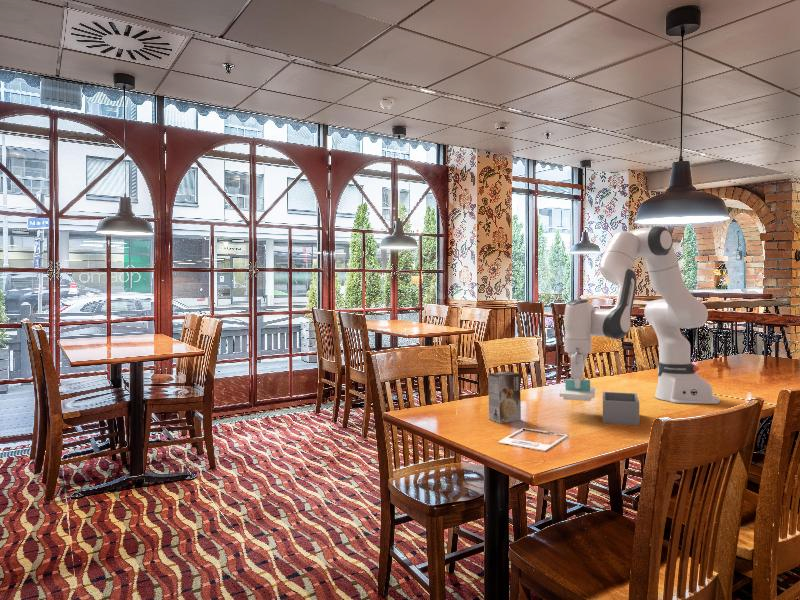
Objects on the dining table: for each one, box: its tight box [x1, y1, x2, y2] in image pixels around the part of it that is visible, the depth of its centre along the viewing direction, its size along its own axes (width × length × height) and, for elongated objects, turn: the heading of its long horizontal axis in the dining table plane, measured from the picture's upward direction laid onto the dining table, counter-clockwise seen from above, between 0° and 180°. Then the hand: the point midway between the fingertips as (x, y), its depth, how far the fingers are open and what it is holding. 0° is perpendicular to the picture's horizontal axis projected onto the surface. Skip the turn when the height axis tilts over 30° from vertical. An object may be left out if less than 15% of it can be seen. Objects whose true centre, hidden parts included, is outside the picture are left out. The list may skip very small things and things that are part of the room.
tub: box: [602, 391, 640, 426], centre depth 187 cm, size 11×15×8 cm
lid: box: [559, 378, 596, 402], centre depth 191 cm, size 11×15×6 cm
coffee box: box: [487, 371, 522, 424], centre depth 190 cm, size 9×6×16 cm
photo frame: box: [497, 427, 569, 452], centre depth 166 cm, size 15×1×18 cm
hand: (577, 386), depth 191 cm, fingers closed on lid
